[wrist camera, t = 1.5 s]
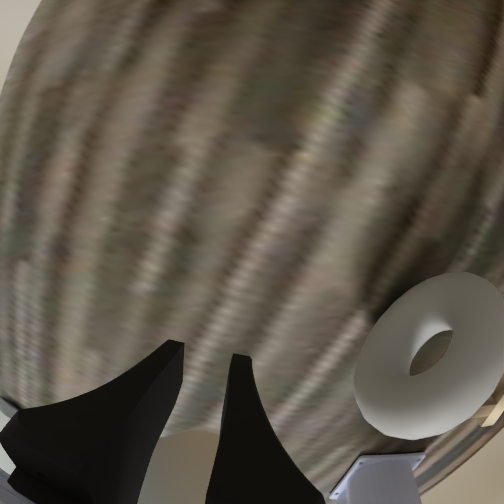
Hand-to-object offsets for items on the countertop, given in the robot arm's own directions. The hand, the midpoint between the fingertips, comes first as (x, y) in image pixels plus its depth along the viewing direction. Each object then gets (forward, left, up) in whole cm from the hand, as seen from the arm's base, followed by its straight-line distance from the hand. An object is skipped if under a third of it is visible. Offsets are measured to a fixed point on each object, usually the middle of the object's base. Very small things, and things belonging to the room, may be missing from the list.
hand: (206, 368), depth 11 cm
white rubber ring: (0, -11, -9) cm, 14 cm away
